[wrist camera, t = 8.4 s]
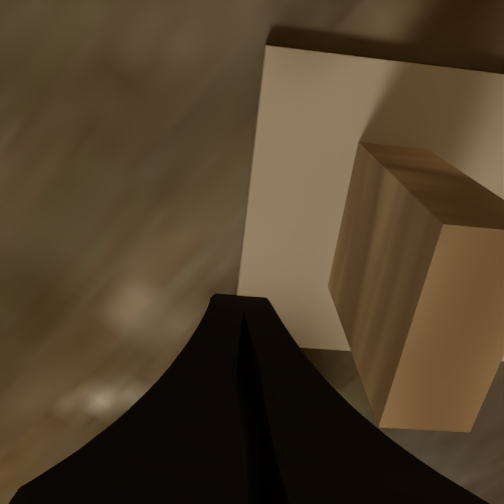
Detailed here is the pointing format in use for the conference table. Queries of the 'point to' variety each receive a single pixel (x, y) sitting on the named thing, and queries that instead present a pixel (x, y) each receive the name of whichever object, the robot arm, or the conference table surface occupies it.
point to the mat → (346, 163)
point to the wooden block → (420, 287)
